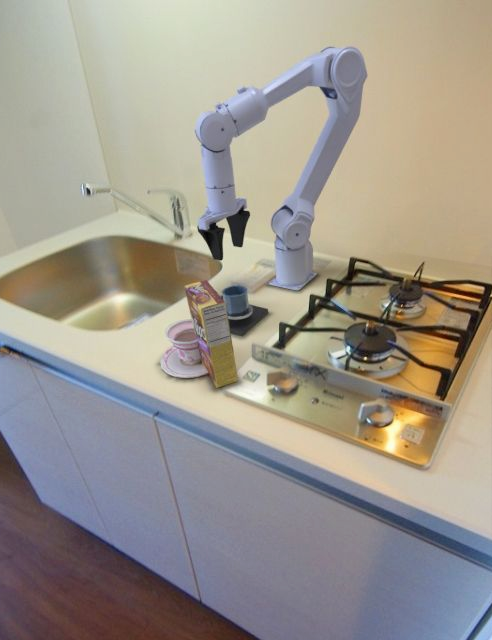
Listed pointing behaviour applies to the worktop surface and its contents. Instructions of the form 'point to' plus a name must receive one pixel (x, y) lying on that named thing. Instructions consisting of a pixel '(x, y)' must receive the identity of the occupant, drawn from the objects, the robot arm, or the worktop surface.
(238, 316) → the grey round disc
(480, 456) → the worktop surface
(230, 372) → the candy box
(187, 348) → the teacup
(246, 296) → the blue cup
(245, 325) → the scale
